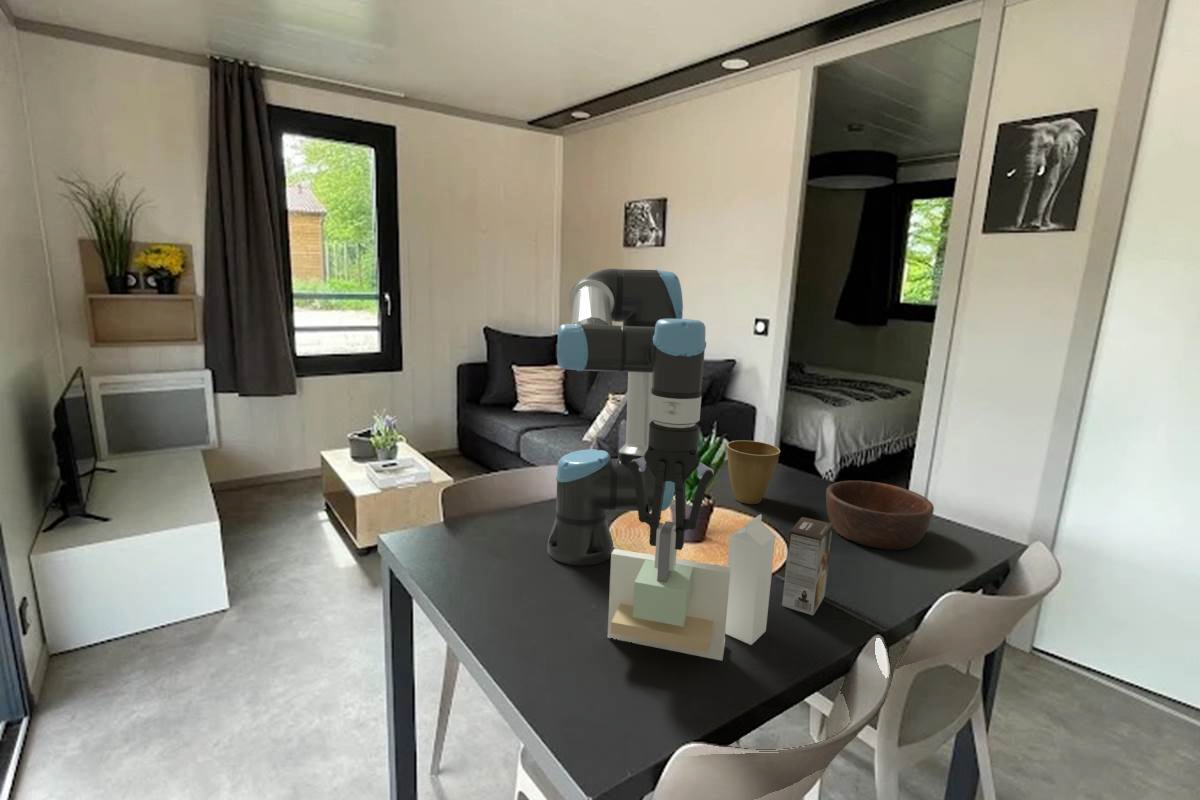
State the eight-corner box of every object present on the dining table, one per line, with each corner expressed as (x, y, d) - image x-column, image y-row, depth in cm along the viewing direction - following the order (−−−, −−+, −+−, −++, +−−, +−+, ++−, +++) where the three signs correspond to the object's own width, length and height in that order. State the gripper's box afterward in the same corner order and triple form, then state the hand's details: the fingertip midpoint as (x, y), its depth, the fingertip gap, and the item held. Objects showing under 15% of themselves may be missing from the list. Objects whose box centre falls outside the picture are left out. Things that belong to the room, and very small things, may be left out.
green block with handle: (632, 617, 95) (637, 533, 92) (643, 592, 103) (647, 514, 100) (683, 626, 93) (689, 541, 90) (690, 600, 101) (696, 521, 98)
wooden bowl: (832, 549, 146) (837, 509, 144) (815, 511, 170) (819, 476, 168) (943, 561, 142) (950, 520, 140) (909, 520, 166) (915, 484, 164)
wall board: (598, 657, 101) (601, 569, 98) (613, 624, 111) (617, 542, 108) (719, 683, 96) (727, 590, 93) (724, 645, 106) (731, 560, 103)
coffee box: (793, 587, 127) (801, 515, 124) (825, 596, 124) (834, 523, 120) (780, 606, 119) (789, 530, 116) (814, 616, 116) (823, 538, 113)
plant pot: (727, 508, 170) (731, 453, 167) (719, 489, 184) (723, 439, 181) (780, 510, 169) (786, 455, 166) (768, 492, 184) (773, 441, 181)
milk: (766, 631, 111) (778, 518, 106) (751, 646, 106) (763, 528, 102) (735, 618, 114) (746, 508, 110) (720, 632, 110) (731, 518, 105)
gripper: (621, 422, 90) (615, 568, 95) (721, 432, 86) (708, 584, 91) (633, 412, 97) (626, 548, 102) (725, 421, 93) (713, 562, 98)
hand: (665, 565), depth 96 cm, fingers closed on green block with handle, 1 cm apart
